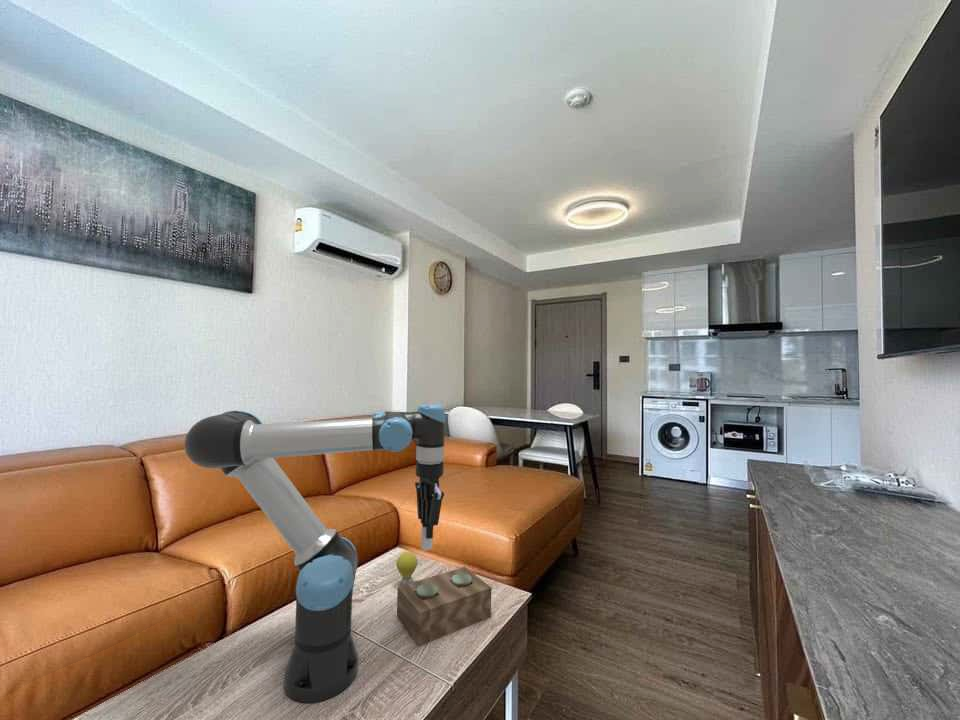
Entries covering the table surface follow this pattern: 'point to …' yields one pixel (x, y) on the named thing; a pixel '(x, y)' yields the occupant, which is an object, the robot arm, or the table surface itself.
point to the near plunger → (426, 591)
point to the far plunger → (461, 579)
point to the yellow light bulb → (406, 566)
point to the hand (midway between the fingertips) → (426, 548)
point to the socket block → (443, 606)
